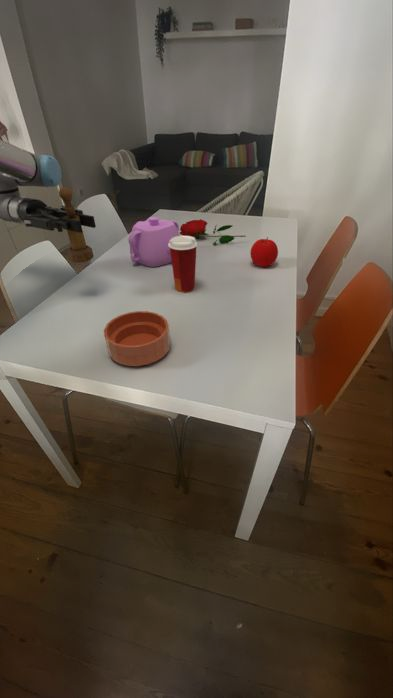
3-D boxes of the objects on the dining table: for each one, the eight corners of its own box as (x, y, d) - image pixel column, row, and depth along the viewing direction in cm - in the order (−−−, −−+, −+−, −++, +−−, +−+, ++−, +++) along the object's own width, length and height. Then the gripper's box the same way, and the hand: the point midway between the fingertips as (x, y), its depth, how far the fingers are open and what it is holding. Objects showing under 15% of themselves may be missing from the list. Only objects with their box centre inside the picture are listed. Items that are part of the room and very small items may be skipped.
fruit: (249, 269, 108) (251, 240, 102) (249, 259, 115) (252, 231, 109) (276, 270, 107) (280, 241, 101) (275, 260, 114) (279, 232, 108)
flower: (248, 216, 119) (181, 213, 132) (240, 234, 116) (171, 230, 129) (252, 234, 126) (188, 230, 140) (244, 252, 123) (179, 246, 136)
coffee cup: (201, 283, 100) (201, 236, 91) (192, 295, 94) (191, 246, 85) (177, 280, 103) (174, 233, 93) (167, 292, 97) (162, 243, 87)
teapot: (138, 248, 126) (133, 210, 118) (190, 248, 125) (189, 210, 116) (126, 268, 111) (119, 226, 103) (185, 268, 110) (183, 226, 101)
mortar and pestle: (76, 253, 92) (58, 184, 81) (97, 254, 91) (82, 184, 80) (65, 262, 87) (44, 190, 76) (88, 263, 86) (70, 190, 75)
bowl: (101, 368, 69) (95, 346, 66) (117, 331, 81) (113, 310, 77) (166, 369, 69) (163, 347, 65) (173, 332, 80) (171, 311, 76)
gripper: (58, 218, 98) (113, 230, 88) (8, 234, 87) (64, 249, 77) (51, 192, 94) (108, 201, 84) (-3, 205, 83) (55, 217, 73)
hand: (86, 224), depth 80 cm, fingers closed on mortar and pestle, 4 cm apart
